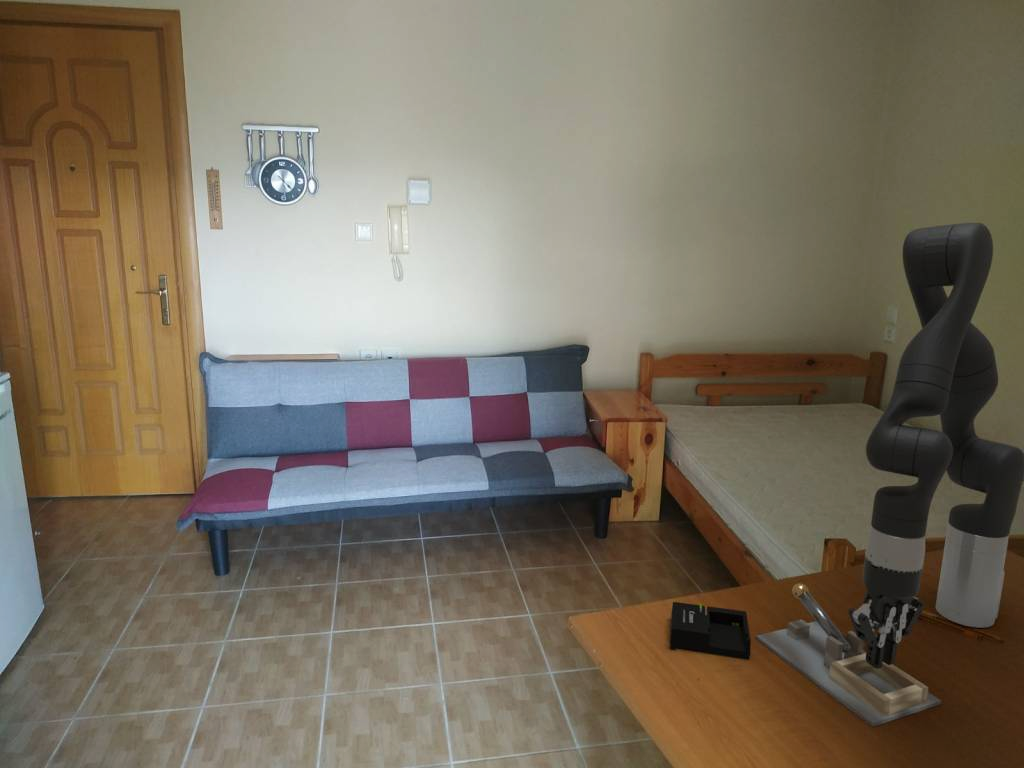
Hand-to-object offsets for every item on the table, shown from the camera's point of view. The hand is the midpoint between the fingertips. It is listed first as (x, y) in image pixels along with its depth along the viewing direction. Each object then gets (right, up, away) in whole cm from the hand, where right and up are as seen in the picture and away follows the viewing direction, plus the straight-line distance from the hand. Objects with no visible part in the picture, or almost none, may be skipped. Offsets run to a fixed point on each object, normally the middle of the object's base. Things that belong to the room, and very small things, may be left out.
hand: (879, 663), depth 105 cm
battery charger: (-22, -2, +15) cm, 27 cm away
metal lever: (-5, +3, +11) cm, 12 cm away
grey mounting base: (-2, -4, +7) cm, 8 cm away
